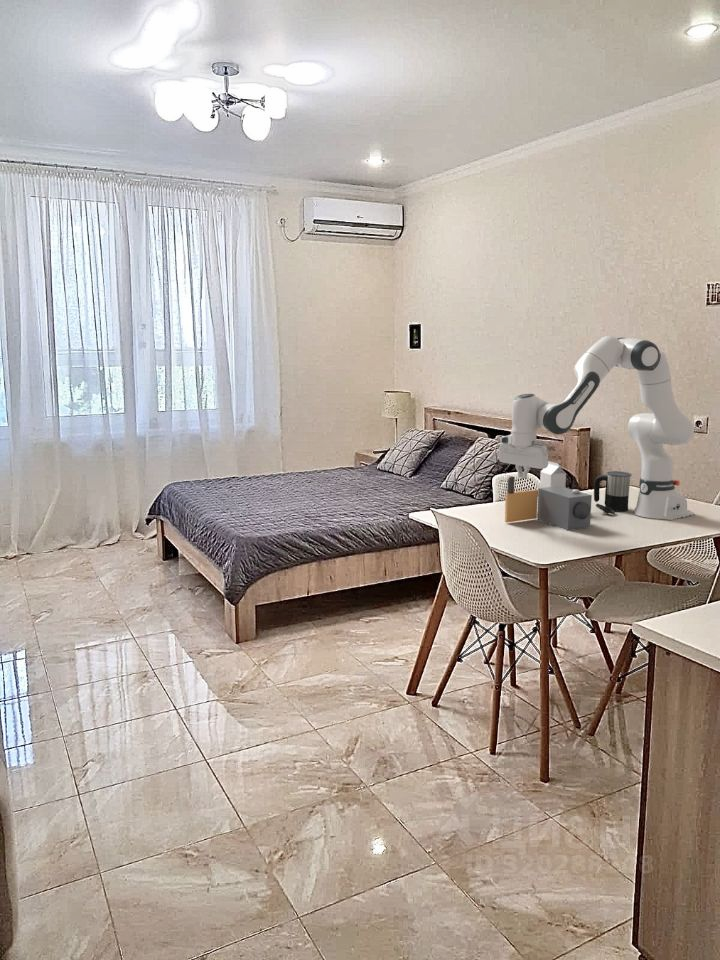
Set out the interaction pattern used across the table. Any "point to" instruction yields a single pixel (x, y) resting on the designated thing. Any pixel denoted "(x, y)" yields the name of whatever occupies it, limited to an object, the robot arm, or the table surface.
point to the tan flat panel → (520, 503)
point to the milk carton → (552, 476)
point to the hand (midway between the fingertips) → (522, 477)
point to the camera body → (564, 507)
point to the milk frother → (613, 491)
